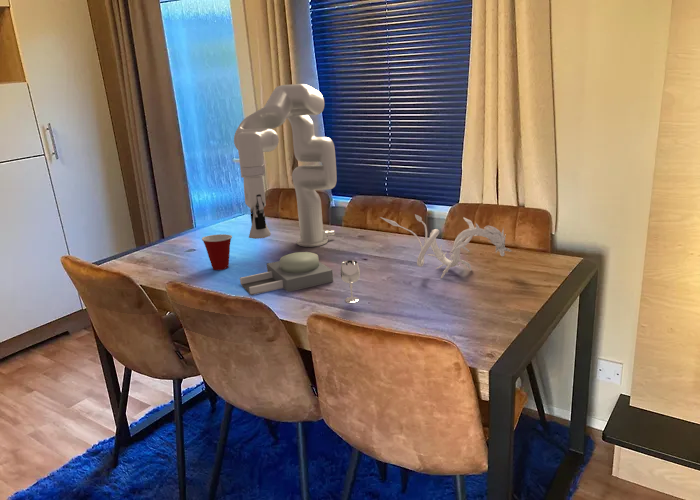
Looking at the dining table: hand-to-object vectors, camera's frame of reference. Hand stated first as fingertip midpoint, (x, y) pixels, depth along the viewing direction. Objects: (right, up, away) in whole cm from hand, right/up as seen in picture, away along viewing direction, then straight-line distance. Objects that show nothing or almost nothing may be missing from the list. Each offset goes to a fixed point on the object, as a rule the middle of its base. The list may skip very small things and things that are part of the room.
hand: (258, 226), depth 188 cm
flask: (0, -3, +1) cm, 4 cm away
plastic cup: (-18, -14, +25) cm, 34 cm away
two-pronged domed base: (+8, -18, +7) cm, 21 cm away
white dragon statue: (+61, -16, +4) cm, 63 cm away
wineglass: (+30, -23, -12) cm, 40 cm away
